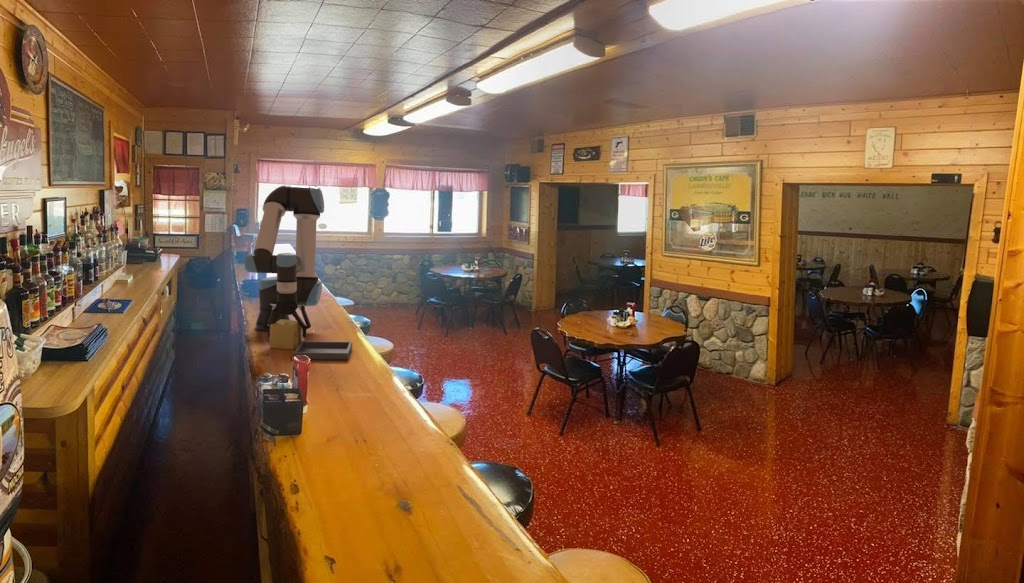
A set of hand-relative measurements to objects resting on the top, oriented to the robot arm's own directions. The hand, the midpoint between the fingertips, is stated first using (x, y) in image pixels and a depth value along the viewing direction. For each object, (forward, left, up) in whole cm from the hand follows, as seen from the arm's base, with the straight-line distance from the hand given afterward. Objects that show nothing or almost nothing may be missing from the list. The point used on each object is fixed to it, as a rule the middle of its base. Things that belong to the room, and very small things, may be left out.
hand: (287, 344), depth 263 cm
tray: (+12, +16, -1) cm, 20 cm away
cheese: (0, 0, -1) cm, 1 cm away
